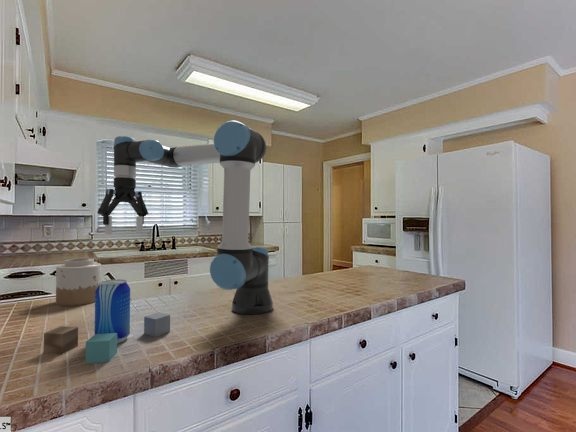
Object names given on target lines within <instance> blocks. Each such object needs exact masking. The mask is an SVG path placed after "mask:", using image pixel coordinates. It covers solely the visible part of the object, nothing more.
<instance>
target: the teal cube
mask: <svg viewBox="0 0 576 432" xmlns="http://www.w3.org/2000/svg"><path fill="white" fill-rule="evenodd" d="M117 353H118V344H117V333H107V334H95V333H94V335H92V336H91V337H90V338H88V339H87V340H86V341H85V364H95V363H96V364H98V363H109V362H111V360H112V359H113V358H114V357H115V356H116V355H117Z"/></svg>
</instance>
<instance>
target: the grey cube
mask: <svg viewBox="0 0 576 432" xmlns="http://www.w3.org/2000/svg"><path fill="white" fill-rule="evenodd" d="M143 318H144V319H143V334H144V335H147V336H151V337H153V338H156V337H159V336H162V335H165V334H167V333H170V332H171V314H168V313H164V312H159V311H158V312H156V313H152V314H149V315H146V316H143Z"/></svg>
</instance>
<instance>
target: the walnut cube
mask: <svg viewBox="0 0 576 432" xmlns="http://www.w3.org/2000/svg"><path fill="white" fill-rule="evenodd" d="M78 346H79V327H78V326H62V325H61V326H58V327H55V328H53V329H51V330H48V331H45V332H44V333H43V354H50V353H51V354H55V355H64V354H66V353H68V352H69V351H71V350H73V349H75V348H77V347H78ZM63 353H64V354H63Z"/></svg>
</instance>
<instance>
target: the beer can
mask: <svg viewBox="0 0 576 432" xmlns="http://www.w3.org/2000/svg"><path fill="white" fill-rule="evenodd" d="M127 282H128V281H127V280H126V279H120V278H119V279H116V278H115V279H106V280H102V282H100V283H99V284H100V285H99V286H98V288H97V289H96V291H95V302H94V335H95V334H107V333H117V345H118V344H121V343H123V342H125V341H126V340H127V338H128V337H129V335H130V334H131V287H130V286H129V284H128V283H127Z"/></svg>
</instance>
